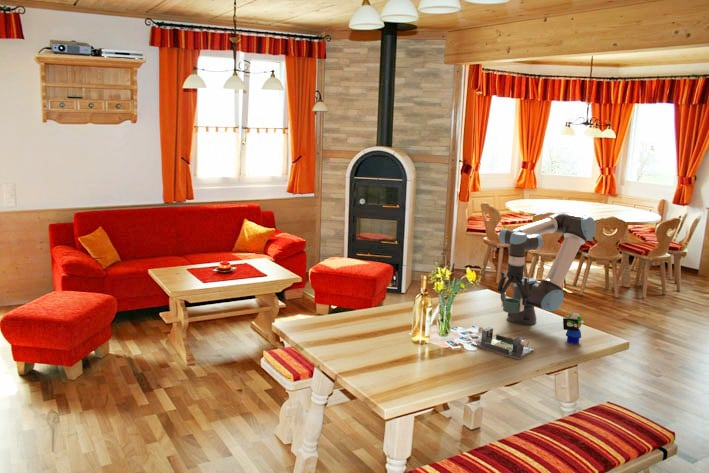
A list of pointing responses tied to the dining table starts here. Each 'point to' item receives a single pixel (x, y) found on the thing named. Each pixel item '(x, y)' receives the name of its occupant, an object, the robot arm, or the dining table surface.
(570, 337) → the toy
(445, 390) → the dining table surface
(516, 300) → the bracket
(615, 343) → the dining table surface
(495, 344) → the shaft bench
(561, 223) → the robot arm
